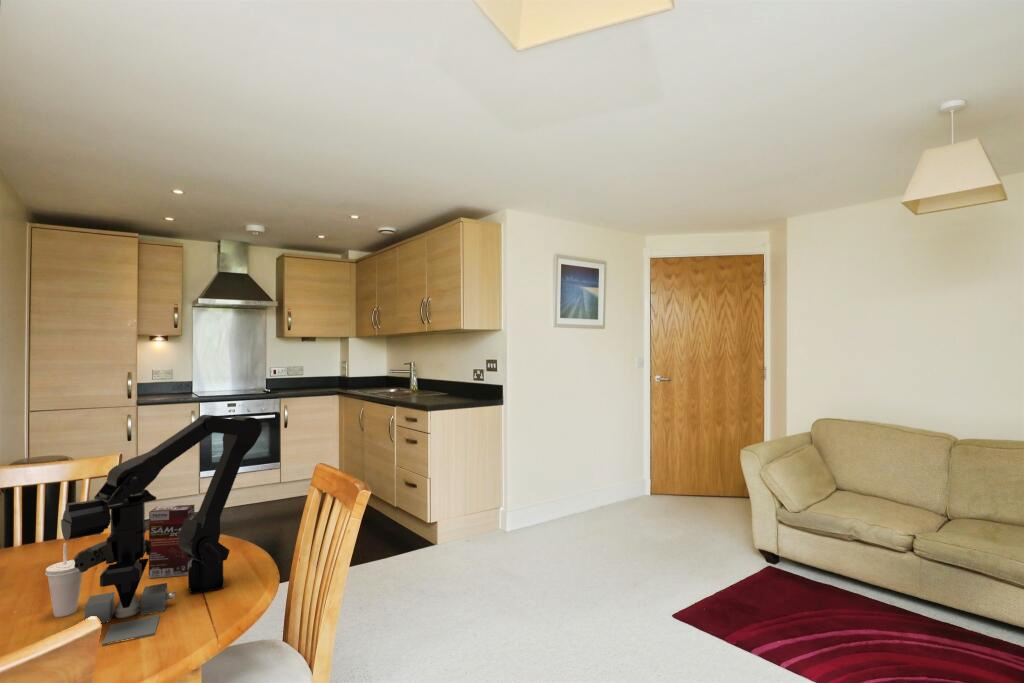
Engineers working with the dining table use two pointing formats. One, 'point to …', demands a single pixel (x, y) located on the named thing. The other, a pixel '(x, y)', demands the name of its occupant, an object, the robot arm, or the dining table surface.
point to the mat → (131, 629)
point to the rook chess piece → (128, 608)
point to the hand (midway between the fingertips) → (127, 603)
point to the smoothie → (64, 585)
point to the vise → (150, 602)
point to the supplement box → (168, 541)
